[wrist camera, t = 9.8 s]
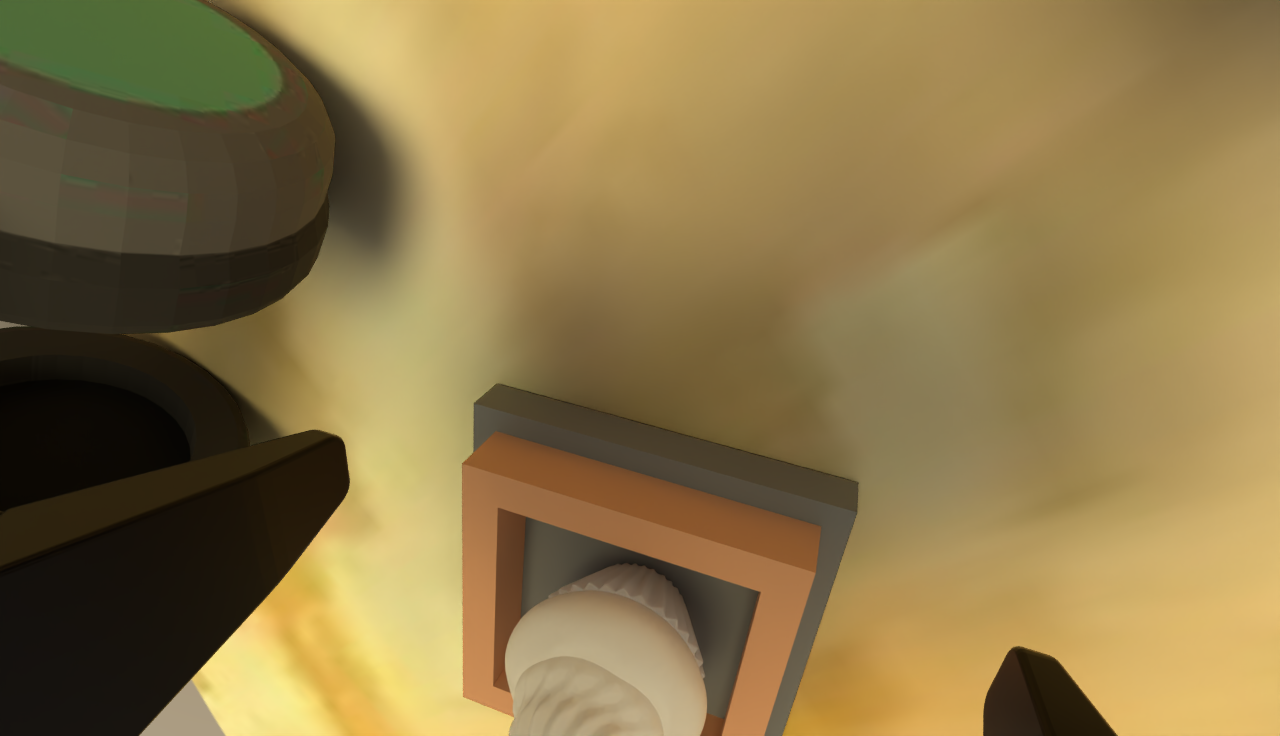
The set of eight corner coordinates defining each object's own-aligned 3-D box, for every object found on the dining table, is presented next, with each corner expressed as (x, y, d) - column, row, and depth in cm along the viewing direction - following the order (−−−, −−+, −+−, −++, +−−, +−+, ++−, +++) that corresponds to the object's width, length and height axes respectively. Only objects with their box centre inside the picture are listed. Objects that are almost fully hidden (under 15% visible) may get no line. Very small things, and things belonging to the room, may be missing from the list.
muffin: (594, 492, 21) (480, 665, 15) (764, 592, 21) (717, 813, 15) (533, 608, 24) (419, 791, 18) (680, 697, 24) (613, 916, 18)
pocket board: (858, 483, 20) (855, 559, 17) (774, 738, 25) (760, 831, 22) (497, 383, 22) (437, 433, 19) (491, 633, 28) (444, 703, 25)
